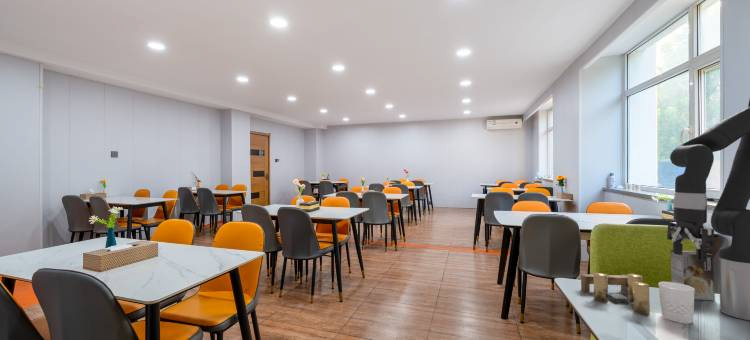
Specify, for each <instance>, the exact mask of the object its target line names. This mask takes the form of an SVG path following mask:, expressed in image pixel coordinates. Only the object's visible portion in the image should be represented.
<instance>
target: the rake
mask: <svg viewBox="0 0 750 340" xmlns="http://www.w3.org/2000/svg"><path fill="white" fill-rule="evenodd" d="M607 275H608V286H620V291H621V292H623V293H625V294H627V295H628V276H627V274H620V275H618V274H617V275H615V274H614V275H612V274H607ZM590 285H594V273H593V274H591V273H590V274H589V273H580V287H581V289H580V290H581V291H582V292H584V293H585V294H586V293H589V294H590V293H591V291H590V290H591V286H590Z"/></svg>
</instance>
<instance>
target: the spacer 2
mask: <svg viewBox="0 0 750 340" xmlns="http://www.w3.org/2000/svg"><path fill="white" fill-rule="evenodd" d="M626 275H627V276H628V294H627V298H628V299H629V303H632V304H633V282H641V283H644V282H643V279H644V278H643V276H642V275H640V274H635V273H627V274H626Z"/></svg>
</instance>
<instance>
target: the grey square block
mask: <svg viewBox="0 0 750 340" xmlns="http://www.w3.org/2000/svg"><path fill="white" fill-rule="evenodd" d="M608 300H610V301H611V302H613V303H615V304H625V305H626V304H627V305H629V304H630V302H629V299H628V297H626V296H624V295H623V294H621V293H608Z"/></svg>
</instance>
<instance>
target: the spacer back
mask: <svg viewBox="0 0 750 340" xmlns="http://www.w3.org/2000/svg"><path fill="white" fill-rule="evenodd" d="M650 307H651V305H650V285H649V284H648V283H645V282H643V283H641V282H633V303H632V309H633V312H634V313H636V314H639V315H643V316H650V315H651V311H650V310H651V309H650ZM649 314H650V315H649Z"/></svg>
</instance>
